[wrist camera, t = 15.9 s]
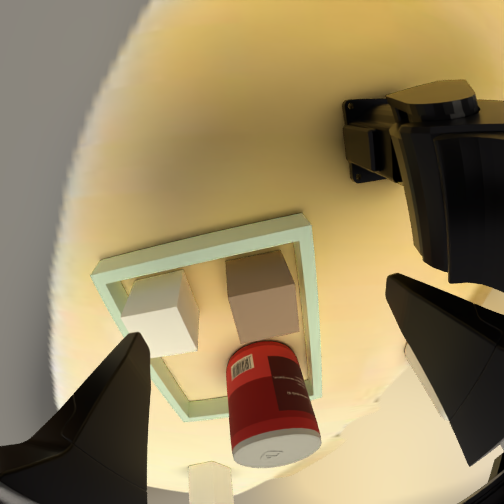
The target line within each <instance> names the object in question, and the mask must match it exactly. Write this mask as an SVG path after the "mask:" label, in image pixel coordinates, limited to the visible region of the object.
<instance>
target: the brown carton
mask: <svg viewBox="0 0 504 504" xmlns="http://www.w3.org/2000/svg"><path fill="white" fill-rule="evenodd" d="M225 262H226V276H227V291H228V299H229V303H230V307H231V310H232V314H233V318H234V321H235V325H236V328H237V332H238V335H239V339H240V342H241V344H243V343H248V342H253V341H258V340H263V339H268V338H273V337H278V336H282V335H287V334H291V333H295V332H299V320H298V310H297V299H296V289H295V283H294V280H293V278H292V276H291V273H290V271H289V269H288V266H287V264H286V262H285V260H284V257H283V255H282V253H281V250H278V251H273V252H268V253H263V254H258V255H253V256H248V257H244V258H239V259H234V260H229V261H225Z"/></svg>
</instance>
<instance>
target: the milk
mask: <svg viewBox="0 0 504 504" xmlns="http://www.w3.org/2000/svg"><path fill="white" fill-rule="evenodd" d="M189 504H234V499H233V489H232V479H231V469H230V468H229V467H226V466H223V465H221V464H218V463H215V462H213V461H210V462H206V463H201V464H196V465H191V466H189Z"/></svg>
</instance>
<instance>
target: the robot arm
mask: <svg viewBox="0 0 504 504" xmlns="http://www.w3.org/2000/svg"><path fill="white" fill-rule="evenodd" d="M349 103H350V104H351V106H352V107H351V109H349V108H348V104H349ZM342 107H343V114H344V121H345V126H344V128H343V133H344V141H345V149H346V158H347V160H348V161H349V163H350V174H351V179H352V181H354V182H356V183H363V182H370V181H376V180H382V179H389V180H391V181H393V182H395V183H398V184H400V185H402V186H404V190H405V195H406V200H407V205H408V210H409V216H410V222H411V228H412V234H413V241H414V246H415V247H416V248H417V250H418V251H419V253H420V254H421V255H422V257H423V261H424V262H425V263H427V264H428V265H430V266H431V267H433V268H436V269H439V270H441V271H444V272H448V282H449V283H451V284H454V283H466V282H468V283H476V284H483V285H486V286H489V287H492V288H494V289H497V290H499V291H502V292H504V101H497V100H477V99H476V95H475V92H474V91H473V89H472V88H471V86H470V85H469V84H468V82H467V81H466V80H443V81H435V82H431V83H427V84H423V85H420V86H416V87H412V88H409V89H405V90H402V91H398V92H395V93H392V94H388V95H386V99H355V100H345V101H344V102H343V106H342ZM357 174H359V178H358V179H356V175H357ZM385 295H386V300H387V302H388V304H389V306H390V308H391V310H392V312H393V315H394V317H395V319H396V321H397V323H398V326H399V328H400V330H401V332H402V334H403V335H404V337H405V339H406V341H407V342H408V344H409V346H410V348H411V349H412V351H413V353H414V355H415V356H416V358H417V360H418V362H419V363H420V365H421V367H422V369H423V371H424V373H425V374H426V376H427V378H428V380H429V382H430V384H431V386H432V388H433V390H434V391H435V393H436V395H437V397H438V399H439V401H440V403H441V405H442V407H443V409H444V411H445V414H446V416H447V418H448V420H449V421H450V424H451V427H452V429H453V431H454V433H455V435H456V437H457V440H458V442H459V444H460V447H461V449H462V451H463V453H464V456H465V458H466V461H467V463H468V465H469V466H472V465H473V464H475V463H476V462H477V461H479V460H480V459H481V458H483V457H484V456H486V455H487V454H488V453H489V452H491V451H492V450H493V449H495V448H496V447H497V446H498V445H501V447H502V448H503V450H504V315H502V314H499V313H496V312H494V311H491V310H489V309H486V308H484V307H481V306H479V305H477V304H473V303H472V302H469V301H467V300H465V299H462V298H460V297H457V296H455V295H452V294H450V293H448V292H445V291H443V290H440V289H438V288H435V287H433V286H430V285H428V284H425V283H423V282H420V281H418V280H415V279H412V278H410V277H407V276H405V275H402V274H400V273H395V274H391V275H389V276H388V277H387V282H386V292H385ZM150 393H151V375H150V349H149V347H148V345H147V343H146V342H145V340H144V338H143V336H142V335H141V333H140V332H132V333H128V334H127V335H126V336H125V338H124V339H123V340H122V341H121V342H120V343H119V344H118V345H117V346H116V347H115V348H114V349H113V351H112V352H111V353H110V354H109V355H108V356H107V357H106V358H105V359H104V360H103V361H102V363H101V364H100V365H99V366H98V367H97V368H96V369H95V370H94V371H93V373H92V374H91V375H90V376H89V377H88V378H87V379H86V380H85V381H84V383H83V384H82V385H81V386H80V387H79V388H78V389H77V390H76V392H75V393H74V395H72V396H71V397H70V398H69V400H68V401H67V402H66V403H65V404H64V405H63V406H62V407H61V408H60V410H59V411H58V412H57V413H56V414H55V415H54V416H53V417H52V418H51V419H50V420H49V421H48V422H47V423H46V424H45V425H44V426H43V427H41V428H40V429H39V431H37V432H36V433H35V434H34V435H33V437H31V438H30V439H29V440H27V441H25V442H23V443H20V444H14V445H6V446H0V504H147V492H146V491H147V443H148V422H149V406H150ZM458 504H504V453H502V454H501V455H500V456H499V457H497V458H496V459H495V460H494V464H493V467H492V471H491V474H490V477H489V480H488V483H487V484H485V485H484V486H483V487H481V488H480V489H479V490H477V491H476V492H474V493H473V494H471V495H470V496H469V497H467V498H466V499H464V500H463V501H461V502H460V503H458Z"/></svg>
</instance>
